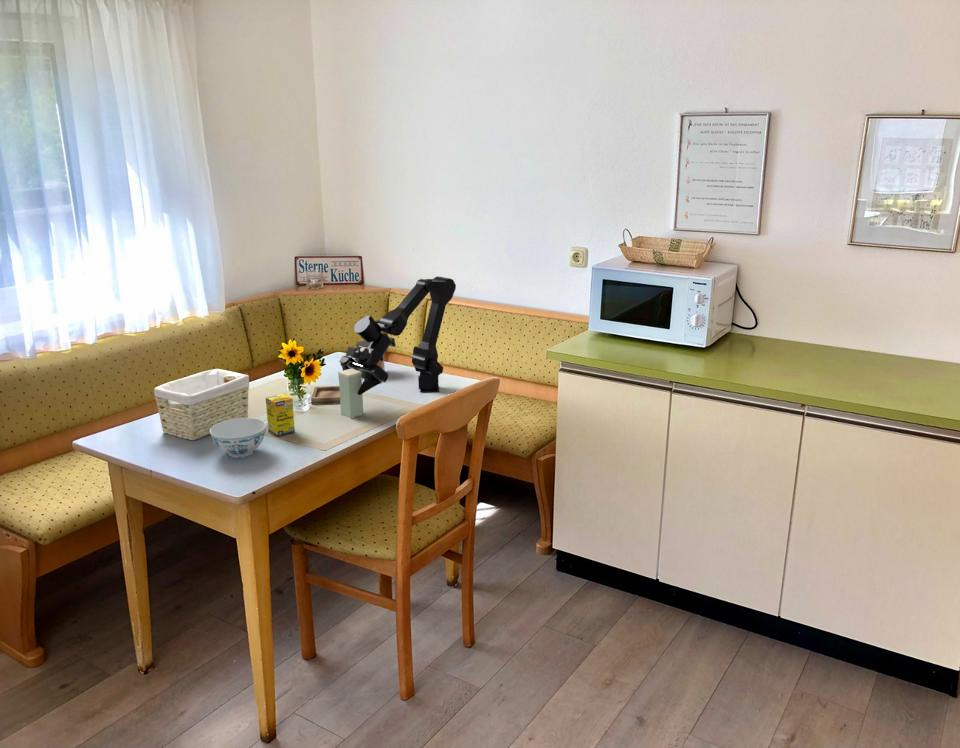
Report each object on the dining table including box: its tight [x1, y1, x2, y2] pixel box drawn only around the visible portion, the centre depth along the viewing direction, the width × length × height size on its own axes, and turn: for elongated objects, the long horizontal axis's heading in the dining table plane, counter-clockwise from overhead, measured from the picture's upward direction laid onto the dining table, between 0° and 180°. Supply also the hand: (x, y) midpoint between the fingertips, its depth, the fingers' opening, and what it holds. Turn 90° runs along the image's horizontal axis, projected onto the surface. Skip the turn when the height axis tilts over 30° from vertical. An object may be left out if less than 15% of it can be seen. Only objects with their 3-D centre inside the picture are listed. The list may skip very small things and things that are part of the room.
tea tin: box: [337, 368, 364, 419], centre depth 248 cm, size 5×5×14 cm
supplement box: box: [265, 393, 296, 438], centre depth 234 cm, size 6×6×11 cm
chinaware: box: [209, 417, 267, 458], centre depth 220 cm, size 15×15×8 cm
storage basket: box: [153, 368, 250, 441], centre depth 239 cm, size 24×16×15 cm
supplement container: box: [355, 339, 386, 379], centre depth 287 cm, size 10×10×12 cm
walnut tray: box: [310, 385, 340, 405], centre depth 265 cm, size 12×12×2 cm
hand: (349, 391), depth 247 cm, fingers open, 9 cm apart
